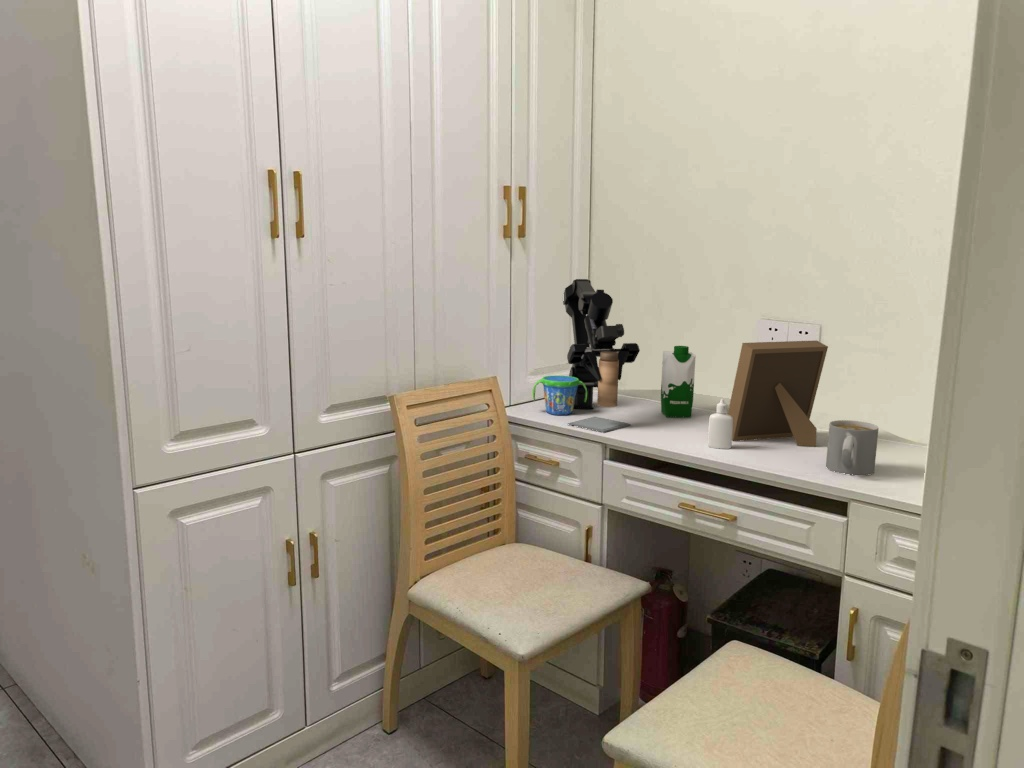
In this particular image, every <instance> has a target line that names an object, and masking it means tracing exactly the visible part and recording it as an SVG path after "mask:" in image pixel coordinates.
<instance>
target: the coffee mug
mask: <svg viewBox="0 0 1024 768" xmlns="http://www.w3.org/2000/svg"><path fill="white" fill-rule="evenodd" d="M878 436H879V426H878V425H875V424H873V423H870V422H866V421H859V420H847V419H846V420H845V419H841V420H839V419H838V420H832V421H829V425H828V437H827V438H828V439H827V449H826V461H825V468H826V467H827V468H828V469H830V470H829V471H831V470H832V471H831V472H833V471H835V472H834V473H836V472H839V473H838V474H840V473H845V474H844V475H846V474H853V475H852V476H855V475H865V476H869V475H868V474H871V475H873V474H874V473H875V468H876V460H877V458H876V457H877V449H878V448H877V446H878ZM827 468H826V469H827ZM828 469H827V470H828ZM872 473H873V474H872Z"/></svg>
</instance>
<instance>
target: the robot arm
mask: <svg viewBox="0 0 1024 768" xmlns="http://www.w3.org/2000/svg"><path fill="white" fill-rule="evenodd" d="M563 294H564V301H563V300H562V304H563V305H564V308H565V312H566V314H567V315H568V316H569V317H570V318H571V322H572V323H571V325H572V332H573V342H574V343H572V344H571V346H570V347H569V350H568V352H567V355H566V357H567V358H566V359H567V363H568V364H569V365H571V367H570V369H569V374H568V376H571V377H576V378H578V379H579V380H580V381H582V382H583V383H584V384H585V386H586V388H587V400H586V402H584V398H585V391H586V390H585V388H584V386H583V385H582V384H581V383H580V384H579V385H578V388H577V391H576V395H575V401H574V406H573V409H583V410H585V409H586V410H588V409H589V410H593V409H594V407H595V402H594V401H593V400H594V399H593V397H594V388H597V389H598V381H600V380H601V376H600V372H599V362H598V358H600V352H603V351H613V352H618V360H619V372H618V381H621V379H622V373H623V365H625V364H628V363H630V364H631V363H634V362H635V361H636V359H637V357H638V355H639V353H640V351H641V350H640V346H639V344H638V343H637V342H624V343H623V344H622V345H621V348H614V346H616V343H617V342H616V340H617V339H619V338H622V337H624V335H625V327H624V325H623V323H616V324H615V325H608V324H607V321H606V320H608V319H609V317H610V314H611V309H612V306H613V302H614V299H613V298H612V296H611V295H609V294H608V293H606V292H605V290H604V289H596V290H595V289H594V287H593V286H592V281H591V280H590V279H587V278H576V279H573V281H572V283H571V284H569V285H568V286H566V287H565V288H564V291H563Z"/></svg>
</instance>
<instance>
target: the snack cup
mask: <svg viewBox="0 0 1024 768" xmlns="http://www.w3.org/2000/svg"><path fill="white" fill-rule="evenodd" d="M540 383H541V384H542V386H543V394H544V404H545V411H546V413H547V414H550V415H553V416H554V415H556V416H561V415H562V416H563V415H566V416H567V415H570V414H572V413H573V410H574V408H573V406H574V401H575V395H576V391H577V388H578V385H579V384H580V383H581V384H582V385H583V386H584V388H585V390H586V391H585V398H584V402H586V400H587V388H586V386H585V384H584V383H583V382H582V381H580V380H579V379H578V378H576V377H571V376H569V375H545V376H543V377H542V378H541V379H539V380H537V381H535V383H534V385H533V388H532V399H533V401H534V402H536V388H537V385H539V384H540Z"/></svg>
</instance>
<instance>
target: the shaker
mask: <svg viewBox="0 0 1024 768" xmlns="http://www.w3.org/2000/svg"><path fill="white" fill-rule="evenodd" d="M598 367H599V372H600V376H601V380H600V381H598V388H597V400H596V401H597V402H596V405H597V406H598V407H603V408H615V407H617V406H618V393H619V392H618V391H619V380H618V372H619V360H618V352H613V351H603V352H600V357H599V359H598Z"/></svg>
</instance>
